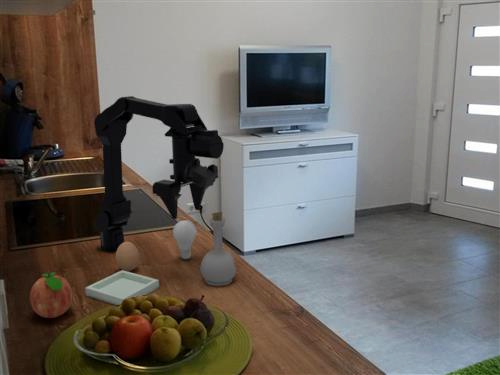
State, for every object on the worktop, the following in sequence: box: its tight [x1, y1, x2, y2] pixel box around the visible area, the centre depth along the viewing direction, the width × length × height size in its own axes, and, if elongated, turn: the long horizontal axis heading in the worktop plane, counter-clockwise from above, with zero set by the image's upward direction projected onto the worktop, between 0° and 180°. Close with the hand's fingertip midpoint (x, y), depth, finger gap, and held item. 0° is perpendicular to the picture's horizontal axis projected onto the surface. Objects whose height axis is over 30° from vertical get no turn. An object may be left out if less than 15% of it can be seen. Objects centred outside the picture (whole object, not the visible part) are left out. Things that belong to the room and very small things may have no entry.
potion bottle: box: [199, 211, 237, 287], centre depth 129 cm, size 9×9×18 cm
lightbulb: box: [172, 220, 197, 261], centre depth 143 cm, size 6×6×11 cm
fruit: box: [29, 270, 74, 319], centre depth 113 cm, size 9×10×10 cm
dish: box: [84, 270, 160, 306], centre depth 125 cm, size 12×12×2 cm
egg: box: [115, 241, 140, 272], centre depth 136 cm, size 6×6×8 cm
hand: (186, 214), depth 136 cm, fingers open, 9 cm apart
